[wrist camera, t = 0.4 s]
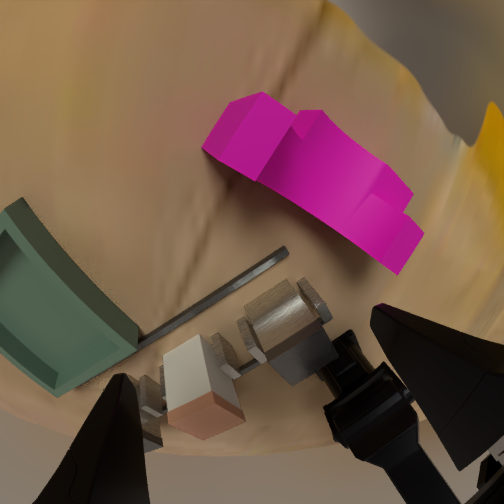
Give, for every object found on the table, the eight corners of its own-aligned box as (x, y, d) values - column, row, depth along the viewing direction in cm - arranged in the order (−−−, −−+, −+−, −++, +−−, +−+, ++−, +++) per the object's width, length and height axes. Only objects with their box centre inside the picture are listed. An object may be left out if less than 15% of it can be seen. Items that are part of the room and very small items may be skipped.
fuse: (225, 357, 27) (246, 421, 20) (190, 376, 27) (203, 440, 20) (199, 333, 25) (214, 402, 18) (162, 355, 25) (168, 424, 18)
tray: (138, 326, 23) (137, 349, 20) (61, 377, 23) (57, 397, 20) (22, 196, 15) (4, 208, 13) (-36, 283, 15) (-50, 299, 13)
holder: (326, 317, 29) (360, 362, 23) (141, 419, 29) (144, 466, 23) (285, 244, 23) (326, 289, 17) (75, 379, 24) (67, 431, 18)
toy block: (380, 180, 24) (440, 205, 17) (345, 235, 25) (397, 275, 19) (248, 75, 17) (290, 52, 10) (200, 147, 18) (218, 160, 12)
